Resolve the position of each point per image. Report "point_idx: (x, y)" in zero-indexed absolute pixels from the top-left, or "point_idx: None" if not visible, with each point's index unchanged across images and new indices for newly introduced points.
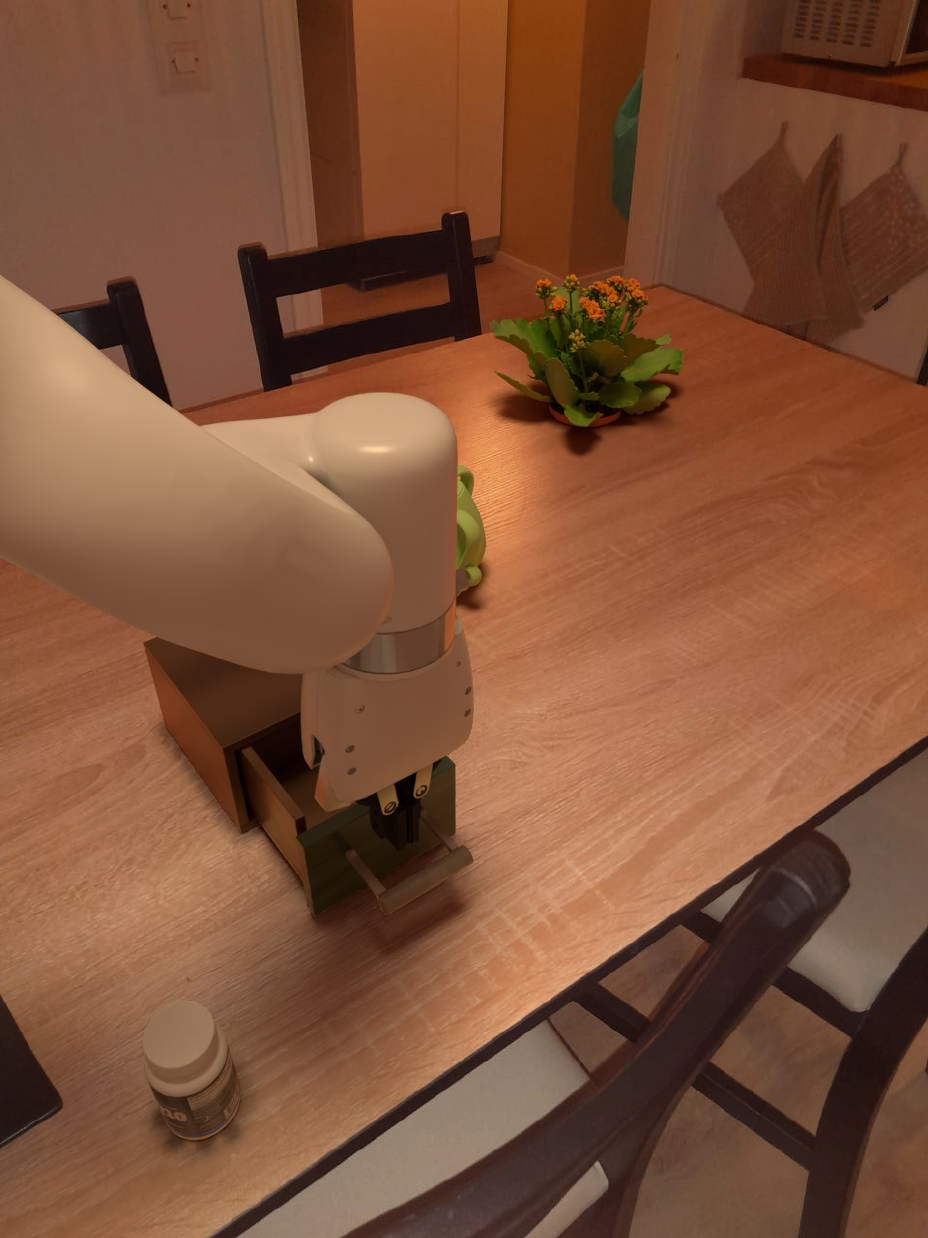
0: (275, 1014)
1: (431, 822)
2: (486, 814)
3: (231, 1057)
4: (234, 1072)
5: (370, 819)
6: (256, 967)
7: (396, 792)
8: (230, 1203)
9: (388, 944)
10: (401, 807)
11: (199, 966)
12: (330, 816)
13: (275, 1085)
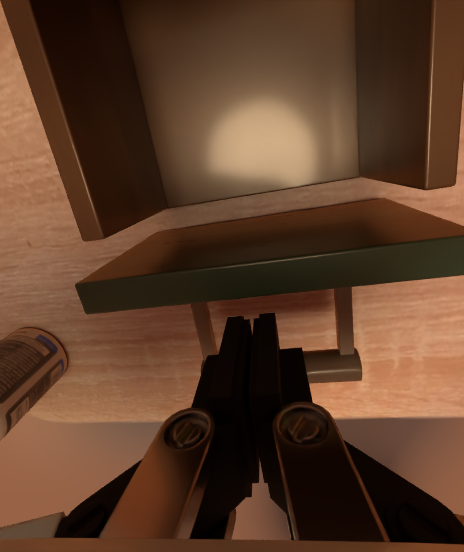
0: (105, 317)
1: (343, 295)
2: (451, 193)
3: (27, 403)
4: (40, 393)
5: (204, 364)
6: (95, 264)
7: (259, 446)
8: (56, 416)
9: (230, 305)
10: (247, 489)
11: (39, 235)
12: (223, 111)
13: (95, 368)
